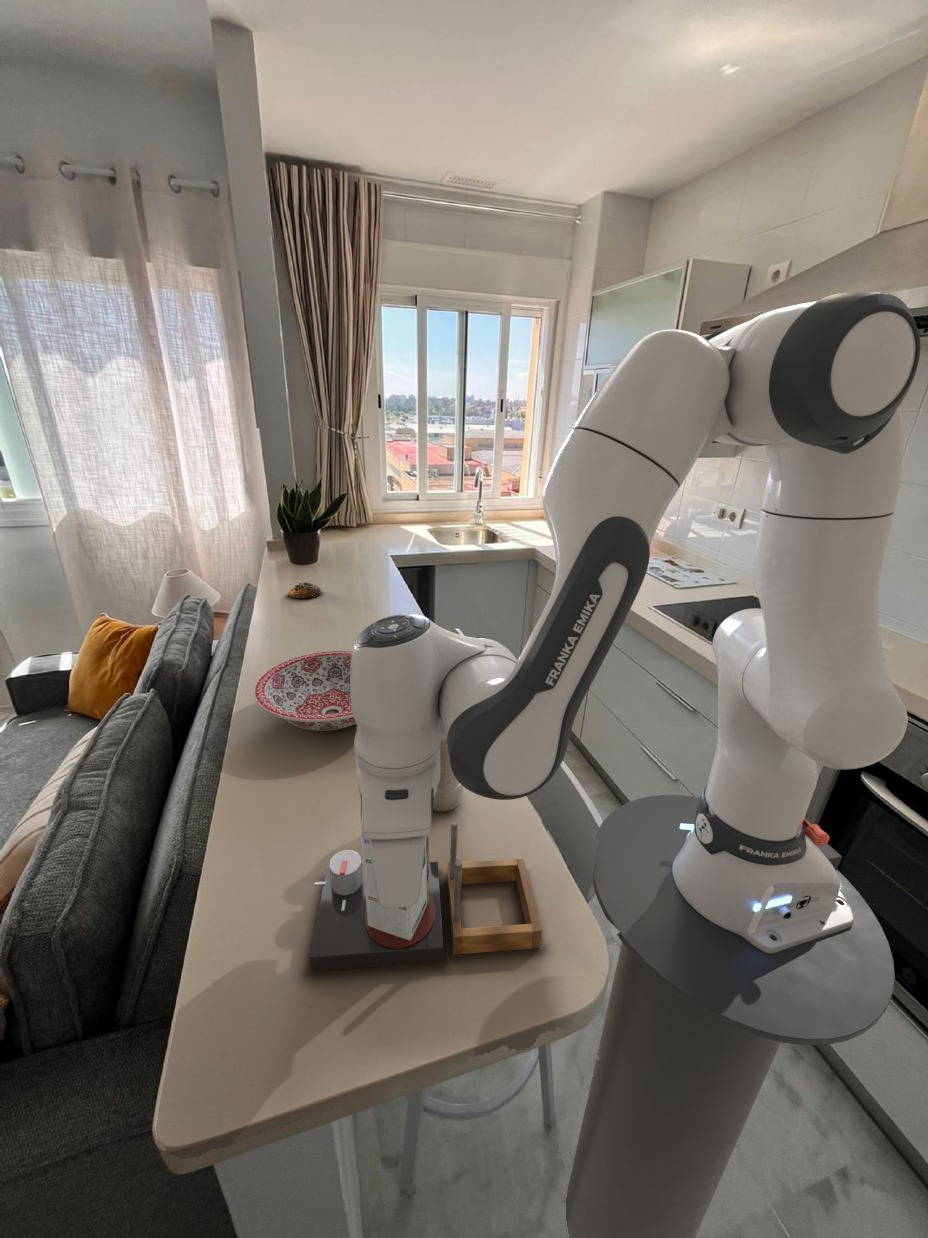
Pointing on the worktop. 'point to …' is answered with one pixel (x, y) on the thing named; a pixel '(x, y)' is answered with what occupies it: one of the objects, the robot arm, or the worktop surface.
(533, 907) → the brown wooden holder
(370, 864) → the syrup box
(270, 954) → the worktop surface
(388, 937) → the hotplate
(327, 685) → the ceramic bowl
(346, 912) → the hob
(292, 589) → the bread roll
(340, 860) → the hob knob
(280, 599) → the worktop surface
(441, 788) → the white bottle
